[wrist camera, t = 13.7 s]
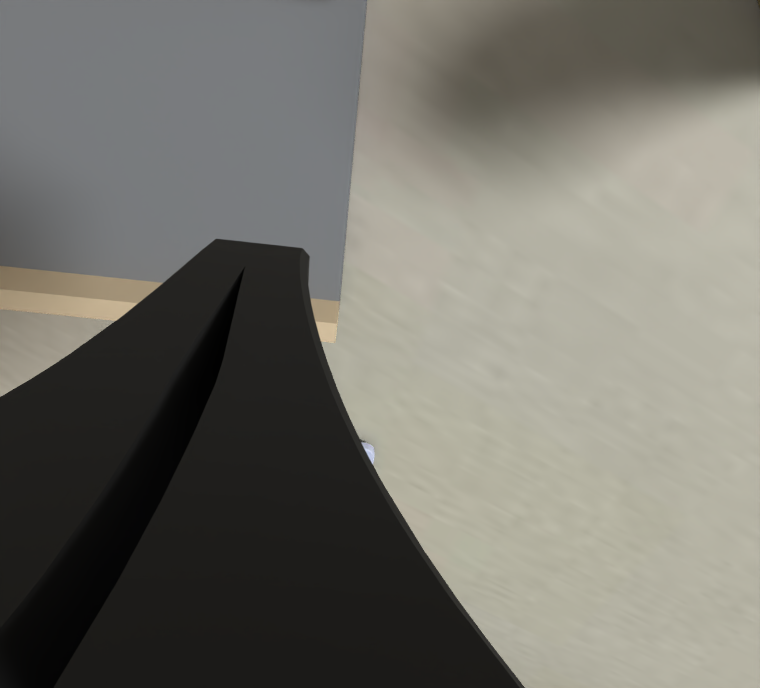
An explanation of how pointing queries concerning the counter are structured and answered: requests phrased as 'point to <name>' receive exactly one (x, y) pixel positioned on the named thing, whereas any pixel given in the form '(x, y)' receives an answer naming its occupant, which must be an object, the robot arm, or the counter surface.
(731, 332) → the counter surface
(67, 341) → the counter surface
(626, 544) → the counter surface
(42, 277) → the lane
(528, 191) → the counter surface
